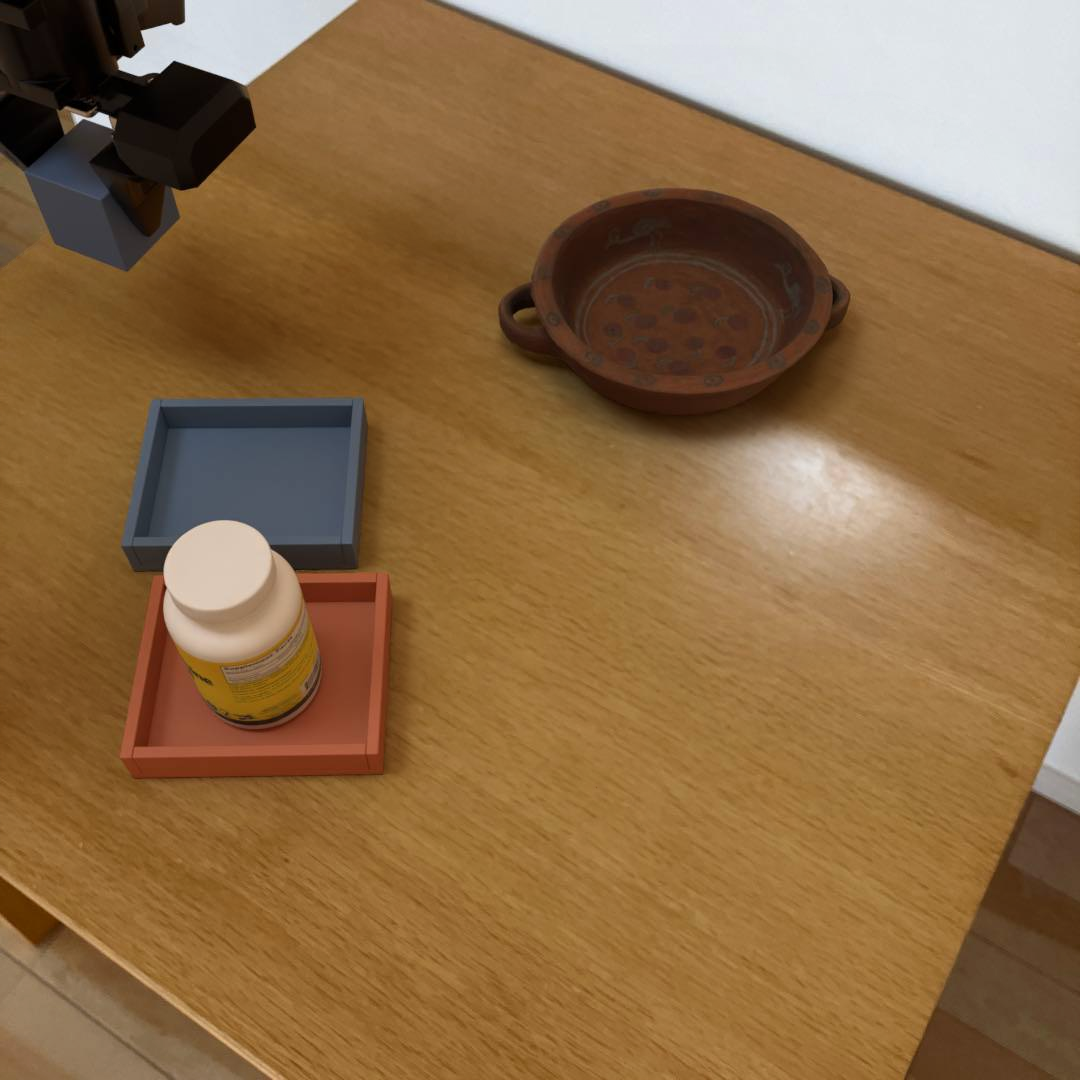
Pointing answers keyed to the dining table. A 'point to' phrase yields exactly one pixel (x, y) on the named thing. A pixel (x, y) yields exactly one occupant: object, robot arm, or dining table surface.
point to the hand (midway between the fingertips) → (113, 217)
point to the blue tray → (252, 476)
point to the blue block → (89, 201)
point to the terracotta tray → (294, 746)
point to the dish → (676, 299)
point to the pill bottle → (241, 625)
